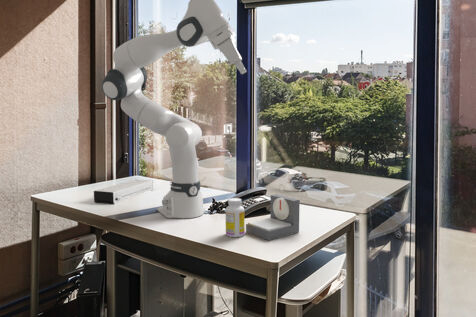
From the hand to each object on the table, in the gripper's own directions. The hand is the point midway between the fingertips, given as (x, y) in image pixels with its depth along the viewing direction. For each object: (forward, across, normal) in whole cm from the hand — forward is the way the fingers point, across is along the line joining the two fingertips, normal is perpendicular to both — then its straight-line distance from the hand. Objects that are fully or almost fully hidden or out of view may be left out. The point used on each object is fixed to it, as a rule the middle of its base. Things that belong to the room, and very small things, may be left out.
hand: (244, 73), depth 140 cm
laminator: (+20, -50, -86) cm, 102 cm away
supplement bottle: (+46, +10, -32) cm, 57 cm away
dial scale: (+53, +7, -21) cm, 58 cm away
